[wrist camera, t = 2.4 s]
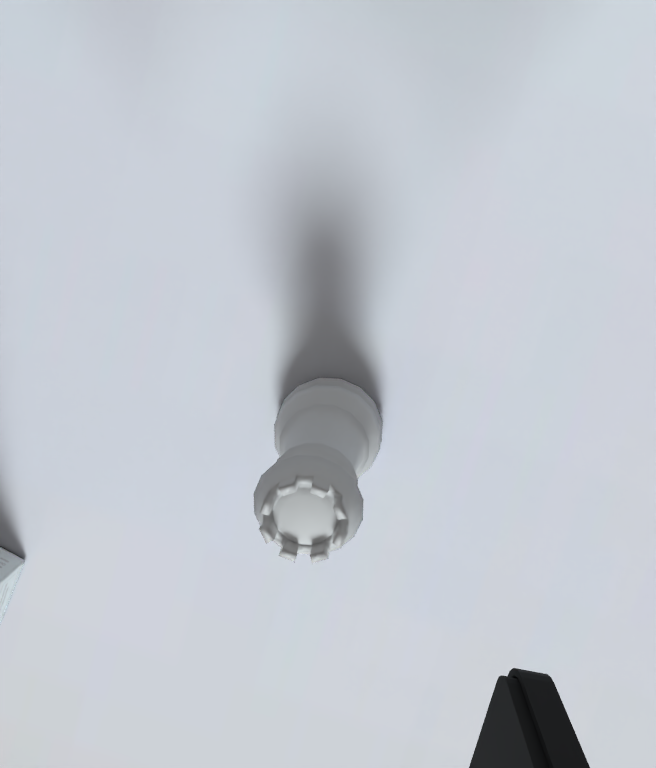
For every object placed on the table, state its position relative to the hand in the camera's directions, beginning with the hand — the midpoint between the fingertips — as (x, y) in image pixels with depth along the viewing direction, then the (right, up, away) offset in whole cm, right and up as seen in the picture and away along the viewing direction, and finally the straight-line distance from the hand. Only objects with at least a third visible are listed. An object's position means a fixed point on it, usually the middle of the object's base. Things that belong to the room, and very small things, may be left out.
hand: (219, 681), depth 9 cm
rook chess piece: (+2, +3, +13) cm, 14 cm away
